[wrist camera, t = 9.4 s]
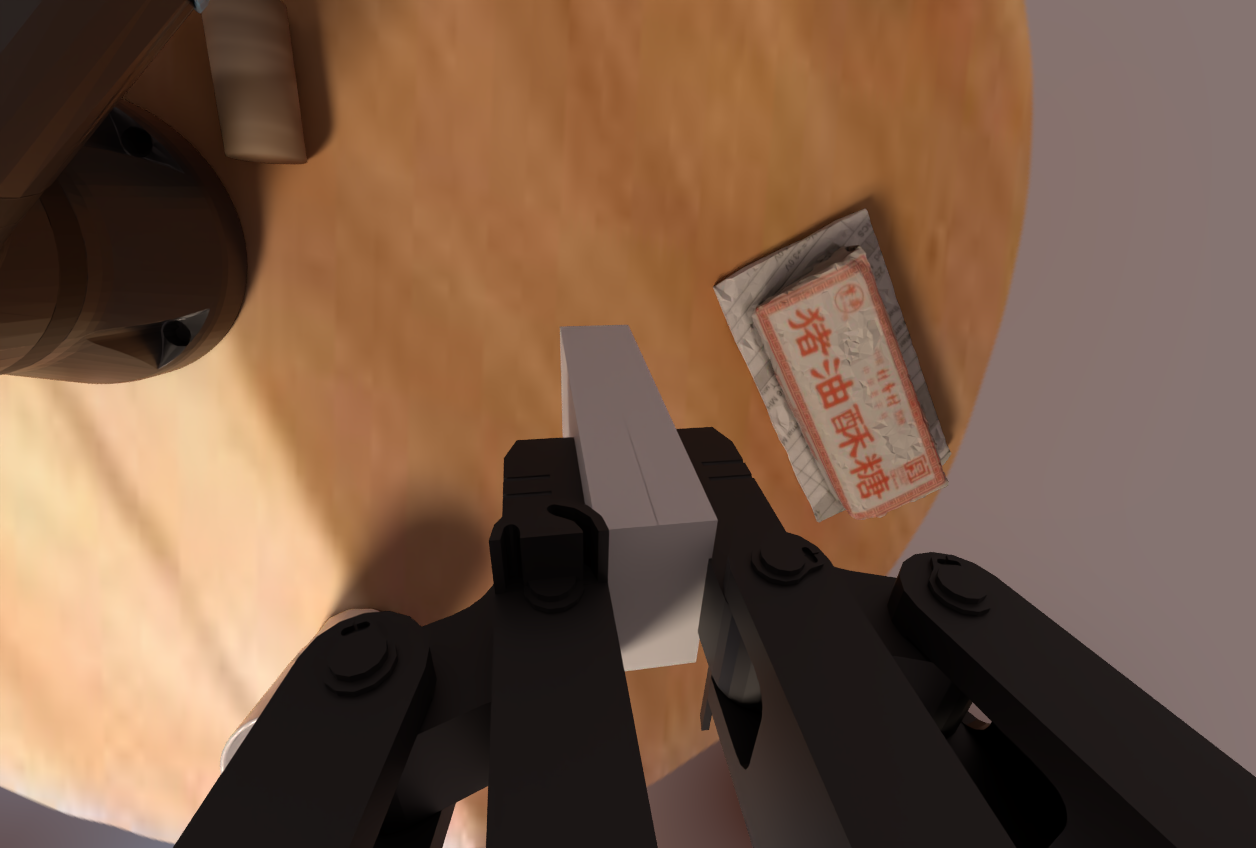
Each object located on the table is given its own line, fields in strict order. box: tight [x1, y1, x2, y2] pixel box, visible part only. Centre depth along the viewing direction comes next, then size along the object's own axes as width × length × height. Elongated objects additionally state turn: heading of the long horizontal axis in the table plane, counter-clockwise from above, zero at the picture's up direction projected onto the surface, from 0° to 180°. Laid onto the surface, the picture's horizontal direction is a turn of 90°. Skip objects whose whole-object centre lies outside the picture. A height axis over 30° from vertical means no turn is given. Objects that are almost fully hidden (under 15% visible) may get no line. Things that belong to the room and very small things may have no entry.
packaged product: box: [713, 208, 951, 522], centre depth 35 cm, size 18×5×10 cm
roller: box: [201, 0, 307, 164], centre depth 28 cm, size 7×4×4 cm, turn 179°
